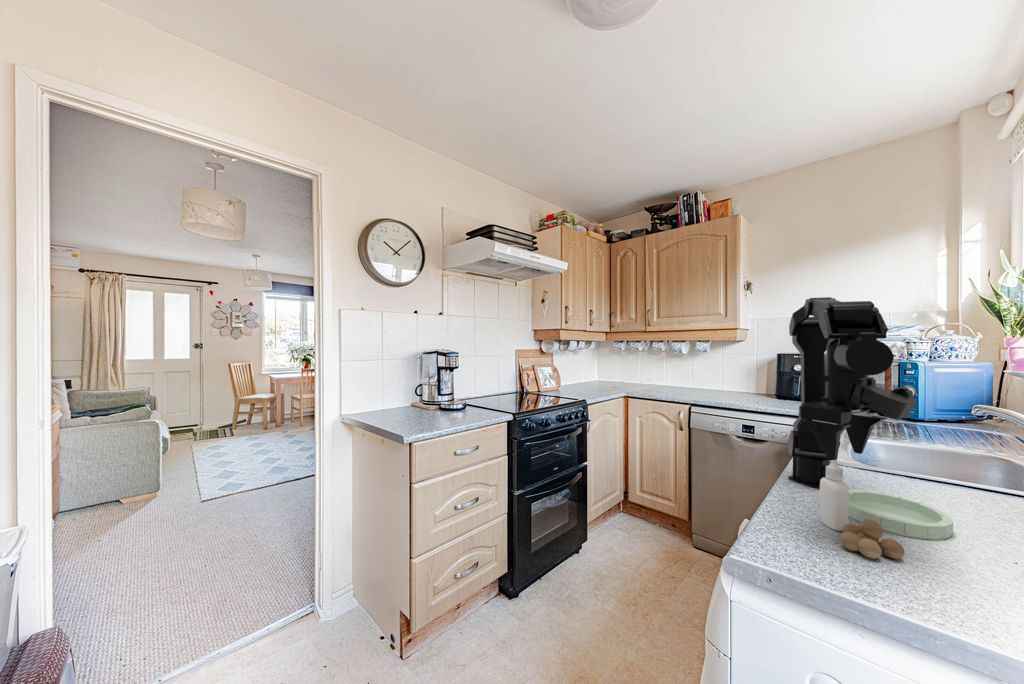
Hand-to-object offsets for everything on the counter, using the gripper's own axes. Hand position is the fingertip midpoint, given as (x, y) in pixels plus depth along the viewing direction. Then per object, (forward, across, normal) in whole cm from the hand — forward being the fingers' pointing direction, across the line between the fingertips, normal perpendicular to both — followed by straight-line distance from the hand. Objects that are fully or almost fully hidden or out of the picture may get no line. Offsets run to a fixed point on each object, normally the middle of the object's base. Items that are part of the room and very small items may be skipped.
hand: (845, 456), depth 68 cm
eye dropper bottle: (+13, 0, +1) cm, 13 cm away
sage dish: (+13, +12, -2) cm, 18 cm away
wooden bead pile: (+13, -5, -5) cm, 15 cm away
